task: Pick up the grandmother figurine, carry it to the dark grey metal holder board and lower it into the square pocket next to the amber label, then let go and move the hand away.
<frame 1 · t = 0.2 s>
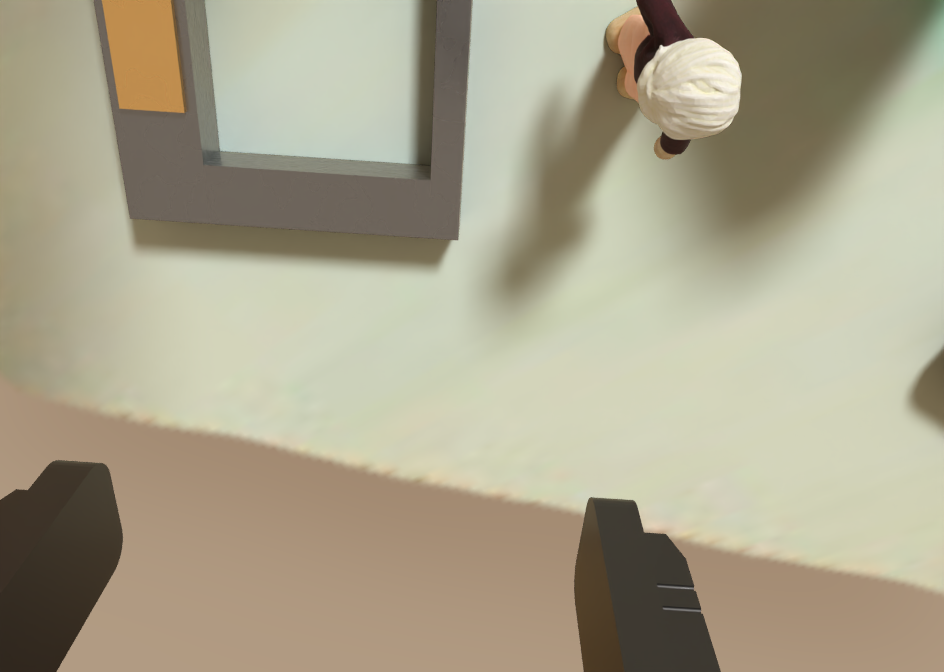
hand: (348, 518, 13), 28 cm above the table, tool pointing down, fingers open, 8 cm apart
grandmother figurine: (638, 43, 35), on the table
holder board: (323, 44, 36), on the table
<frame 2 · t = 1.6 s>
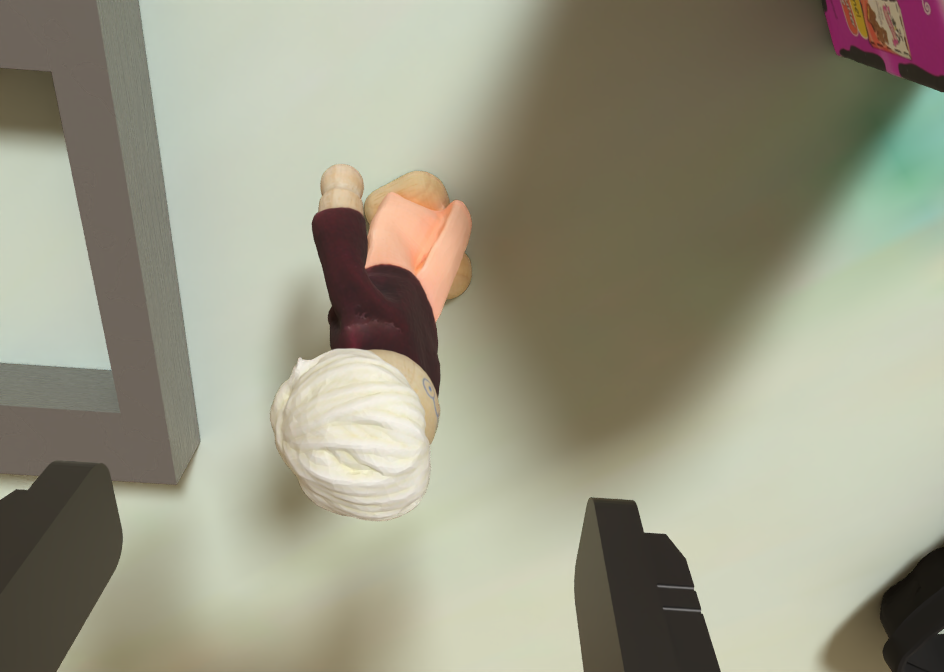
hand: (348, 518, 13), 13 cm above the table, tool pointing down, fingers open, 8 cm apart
grandmother figurine: (416, 221, 24), on the table
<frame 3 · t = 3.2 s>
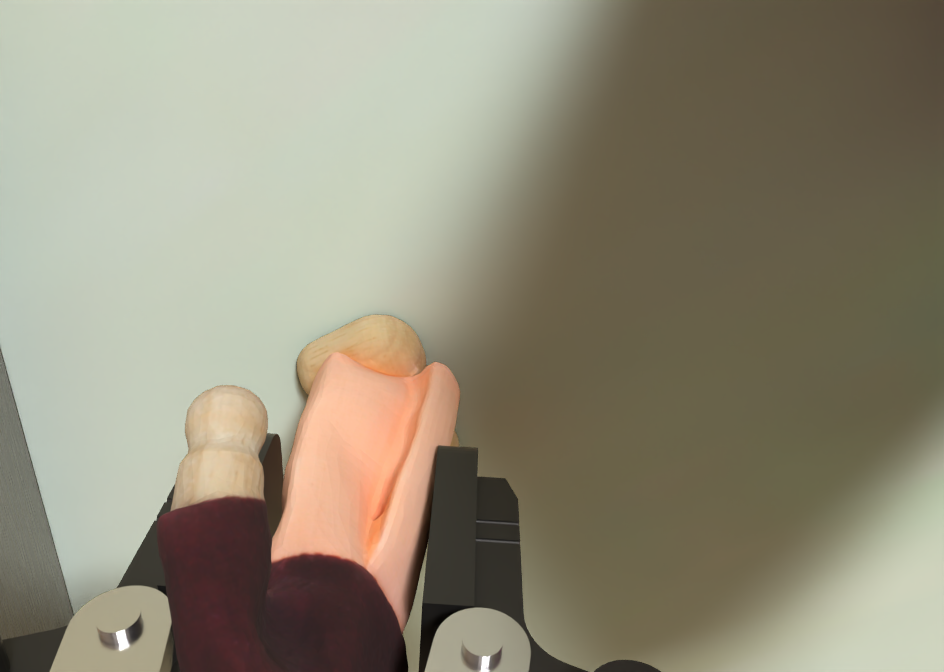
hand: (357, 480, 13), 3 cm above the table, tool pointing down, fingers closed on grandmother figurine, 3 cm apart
grandmother figurine: (375, 381, 16), on the table, touching gripper
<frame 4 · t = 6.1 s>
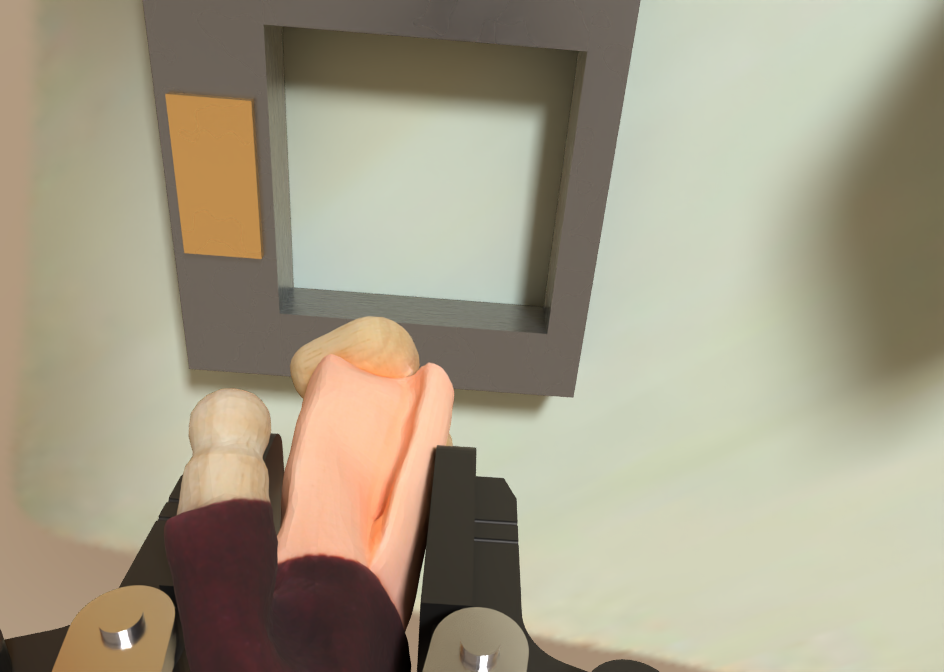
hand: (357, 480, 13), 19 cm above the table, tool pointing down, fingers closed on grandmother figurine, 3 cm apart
grandmother figurine: (369, 382, 16), point 16 cm above the table, touching gripper
holder board: (424, 175, 30), on the table
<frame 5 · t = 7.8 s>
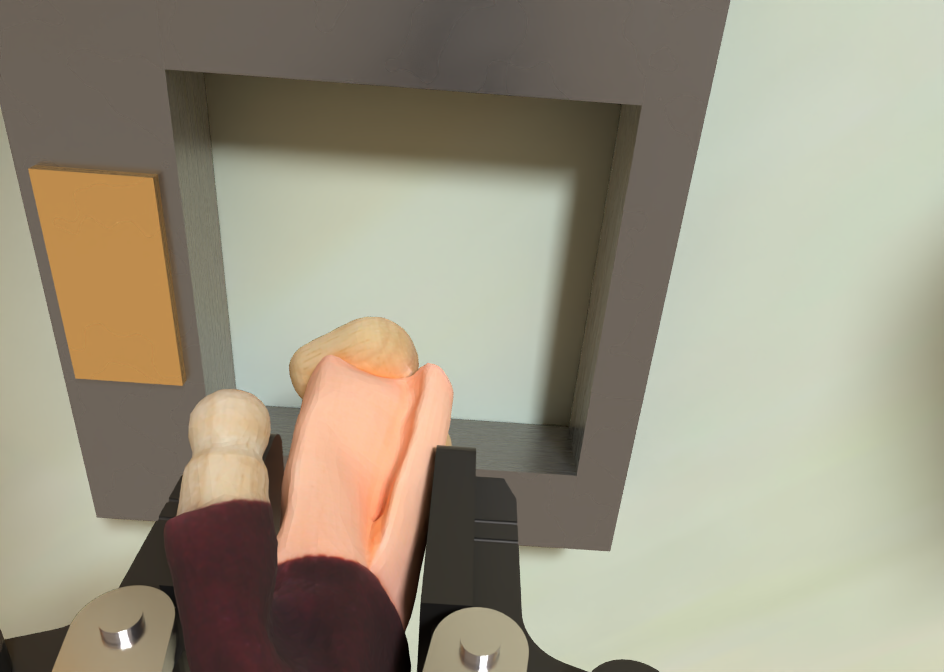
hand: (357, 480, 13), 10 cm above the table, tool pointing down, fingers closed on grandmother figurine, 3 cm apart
grandmother figurine: (368, 383, 16), point 6 cm above the table, touching gripper
holder board: (408, 263, 22), on the table
when the fingers open (5 cm above the table, at t = 9.1 s): grandmother figurine drops 1 cm, resting in holder board.
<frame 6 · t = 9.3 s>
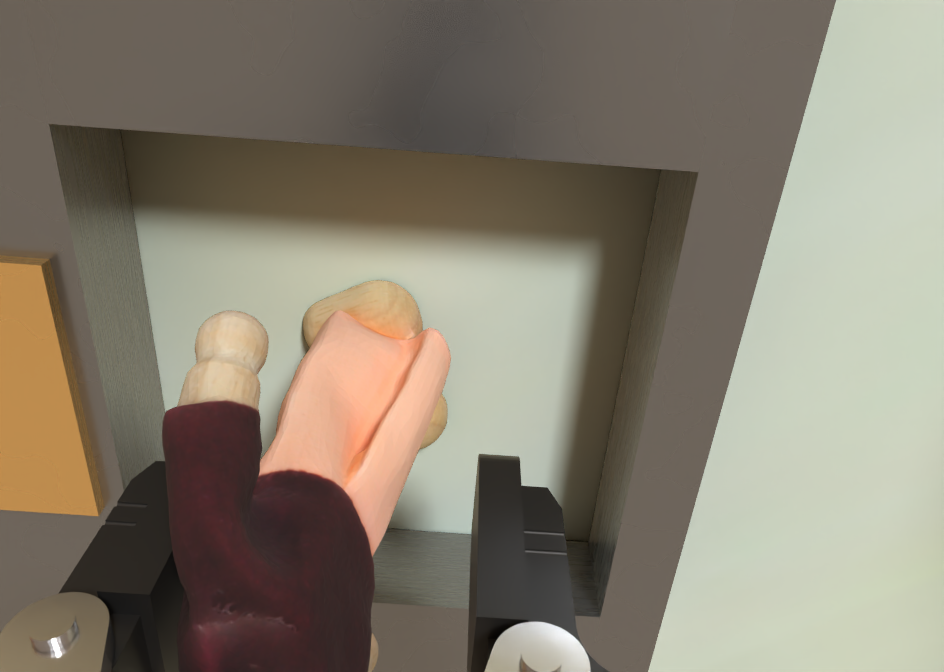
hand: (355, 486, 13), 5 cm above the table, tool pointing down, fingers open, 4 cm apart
grandmother figurine: (375, 344, 18), resting in holder board
holder board: (388, 353, 17), on the table
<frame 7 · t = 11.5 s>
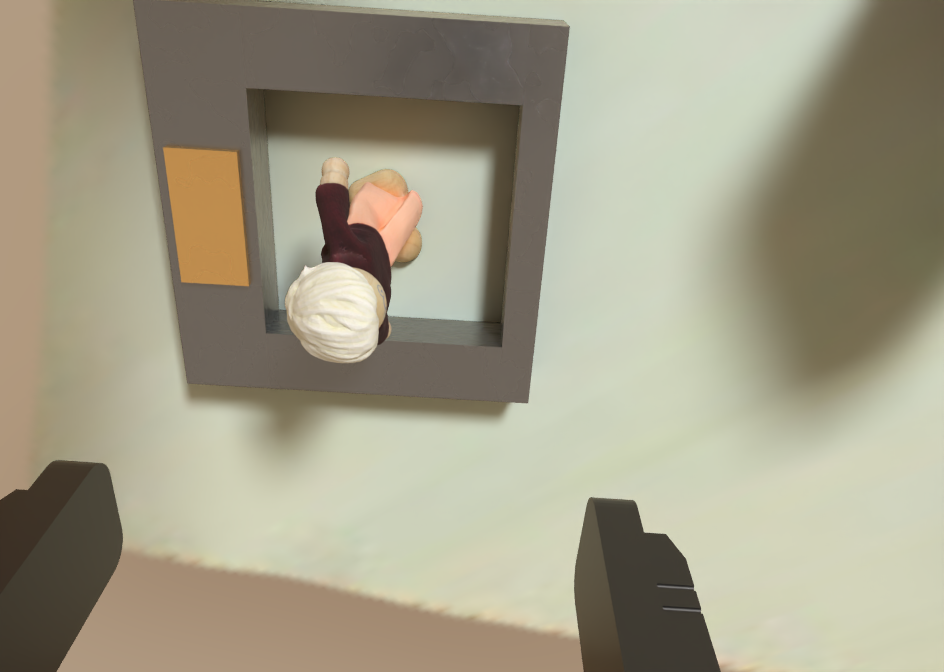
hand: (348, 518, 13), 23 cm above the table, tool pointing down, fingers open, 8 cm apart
grandmother figurine: (384, 205, 34), resting in holder board
holder board: (391, 209, 34), on the table
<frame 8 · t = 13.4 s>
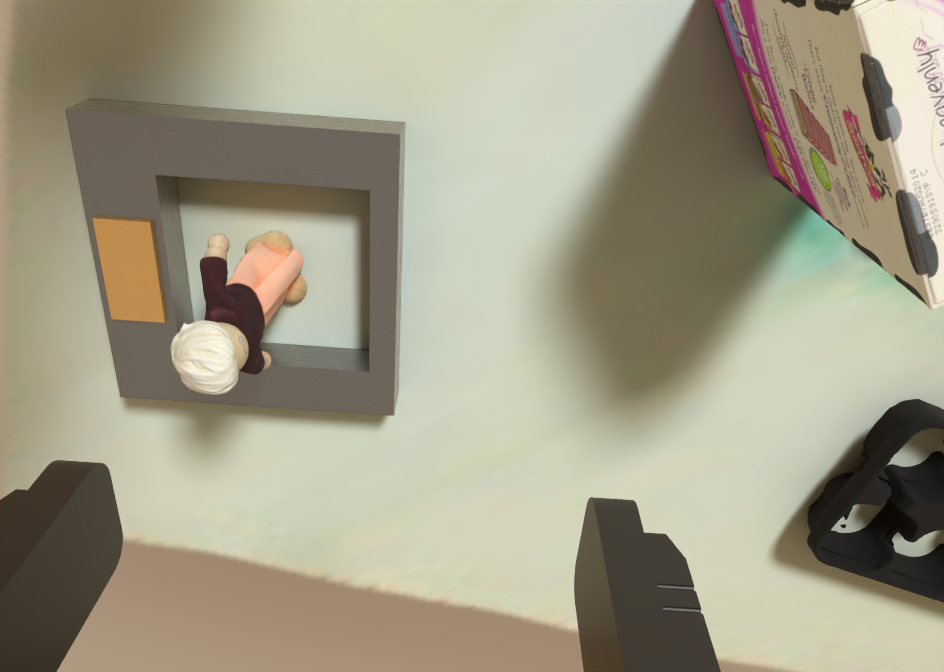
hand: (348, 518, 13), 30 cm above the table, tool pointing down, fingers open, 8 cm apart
grandmother figurine: (275, 257, 43), resting in holder board
holder board: (280, 261, 43), on the table
candy bar box: (785, 59, 37), on the table
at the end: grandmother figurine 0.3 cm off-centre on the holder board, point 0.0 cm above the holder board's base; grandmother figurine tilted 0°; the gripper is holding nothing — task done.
